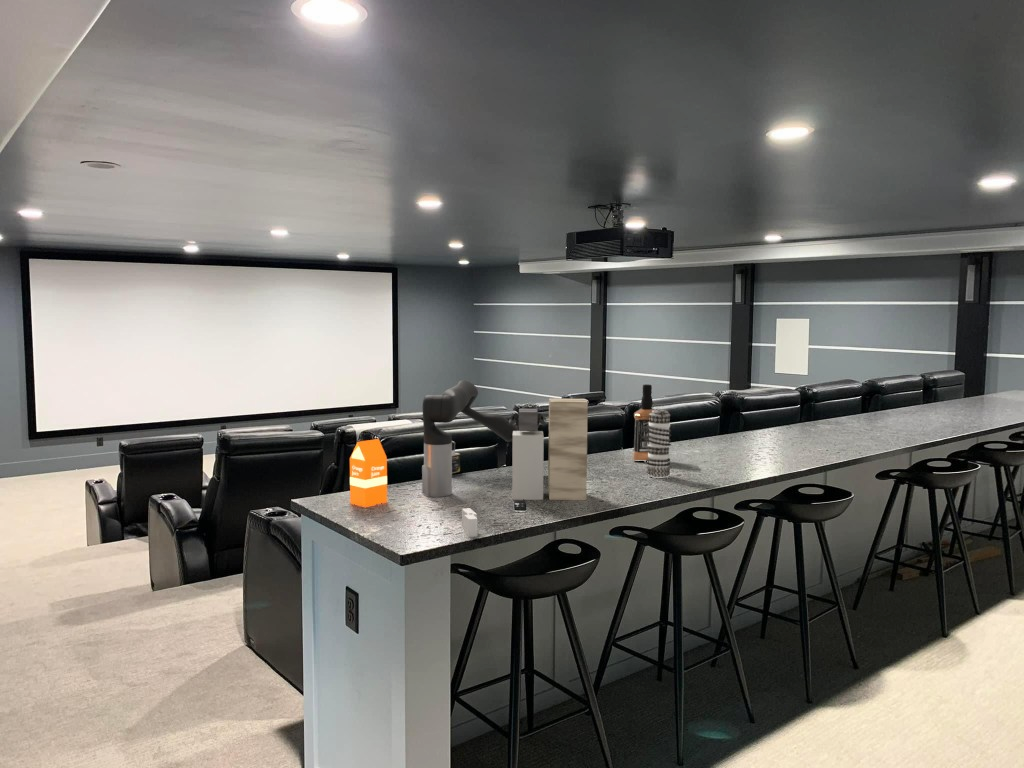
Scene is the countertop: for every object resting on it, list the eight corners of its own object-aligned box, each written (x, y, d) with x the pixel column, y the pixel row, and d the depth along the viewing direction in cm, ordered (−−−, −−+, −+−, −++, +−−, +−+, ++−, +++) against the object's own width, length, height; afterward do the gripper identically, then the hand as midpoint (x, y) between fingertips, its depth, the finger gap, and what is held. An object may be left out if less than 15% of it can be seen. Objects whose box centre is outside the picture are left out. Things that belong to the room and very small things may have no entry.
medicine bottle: (447, 474, 277) (447, 443, 276) (433, 472, 281) (433, 441, 280) (460, 471, 282) (460, 440, 281) (446, 469, 287) (446, 439, 286)
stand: (548, 492, 247) (548, 398, 244) (583, 493, 247) (584, 398, 244) (549, 499, 237) (550, 401, 234) (586, 500, 237) (587, 401, 234)
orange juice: (349, 503, 231) (349, 440, 230) (371, 498, 238) (371, 437, 236) (365, 507, 226) (364, 443, 224) (387, 502, 233) (387, 440, 231)
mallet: (518, 422, 255) (519, 405, 255) (536, 422, 255) (536, 405, 255) (518, 430, 236) (518, 411, 236) (537, 430, 236) (537, 412, 236)
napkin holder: (459, 524, 209) (459, 504, 209) (496, 528, 205) (497, 508, 205) (437, 538, 195) (437, 517, 195) (476, 542, 191) (476, 521, 191)
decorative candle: (642, 474, 279) (643, 409, 277) (666, 473, 280) (667, 408, 278) (649, 479, 270) (650, 411, 268) (673, 478, 271) (675, 411, 269)
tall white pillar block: (512, 492, 247) (512, 430, 245) (542, 492, 247) (542, 431, 245) (512, 499, 237) (512, 435, 235) (543, 499, 237) (543, 435, 235)
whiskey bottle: (656, 458, 312) (658, 383, 310) (659, 462, 303) (660, 385, 300) (632, 457, 314) (633, 383, 311) (633, 462, 304) (635, 385, 301)
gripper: (508, 420, 267) (507, 401, 251) (546, 420, 267) (548, 401, 251) (507, 439, 264) (507, 421, 248) (546, 439, 264) (548, 421, 248)
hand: (527, 411), depth 250 cm, fingers closed on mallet, 3 cm apart
